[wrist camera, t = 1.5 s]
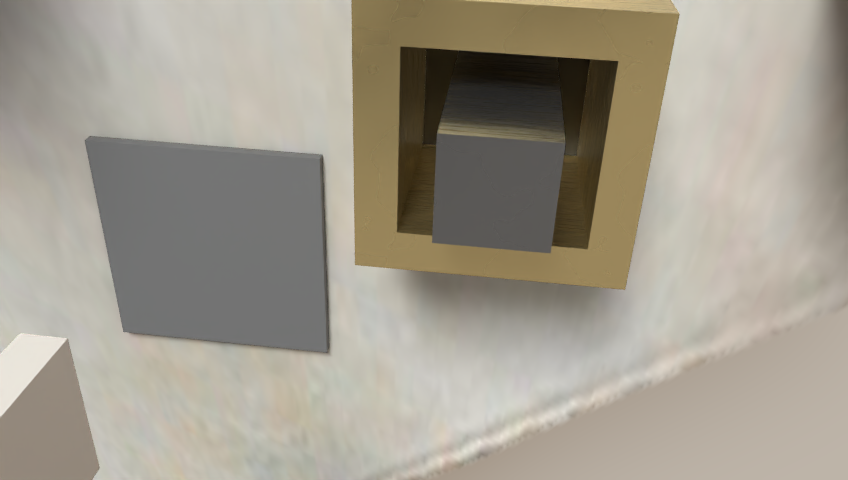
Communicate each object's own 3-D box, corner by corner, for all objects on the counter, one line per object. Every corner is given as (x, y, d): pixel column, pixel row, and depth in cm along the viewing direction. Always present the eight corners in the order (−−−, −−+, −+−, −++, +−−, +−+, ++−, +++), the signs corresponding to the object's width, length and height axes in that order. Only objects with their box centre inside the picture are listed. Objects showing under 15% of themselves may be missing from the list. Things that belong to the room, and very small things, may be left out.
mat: (127, 326, 34) (123, 331, 34) (90, 136, 30) (84, 140, 29) (329, 346, 34) (327, 352, 33) (322, 155, 29) (319, 159, 29)
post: (459, 113, 28) (432, 242, 20) (464, 29, 26) (437, 133, 18) (544, 120, 27) (550, 253, 20) (554, 35, 26) (565, 143, 18)
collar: (388, 172, 29) (355, 264, 24) (391, -54, 25) (351, -7, 19) (606, 189, 28) (624, 289, 23) (645, -40, 24) (679, 13, 19)
